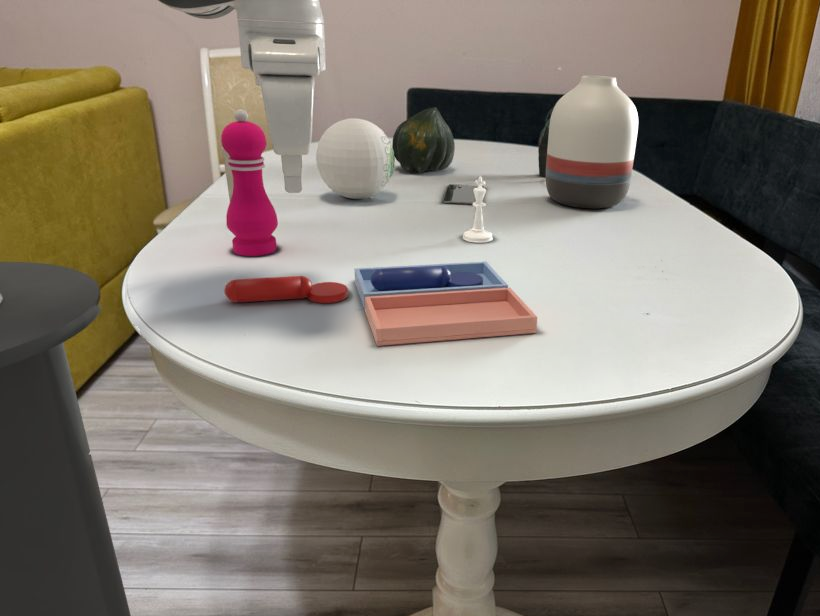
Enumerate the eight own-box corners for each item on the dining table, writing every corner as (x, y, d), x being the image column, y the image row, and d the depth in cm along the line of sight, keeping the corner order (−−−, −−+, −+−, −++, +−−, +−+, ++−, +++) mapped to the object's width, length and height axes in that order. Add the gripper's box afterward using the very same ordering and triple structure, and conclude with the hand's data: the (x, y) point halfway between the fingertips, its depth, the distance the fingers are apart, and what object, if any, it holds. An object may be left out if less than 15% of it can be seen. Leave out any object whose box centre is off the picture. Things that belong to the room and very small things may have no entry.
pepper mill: (269, 240, 106) (256, 105, 97) (287, 252, 100) (276, 111, 92) (223, 247, 102) (205, 107, 93) (239, 260, 96) (222, 113, 88)
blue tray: (364, 309, 81) (363, 294, 80) (354, 282, 90) (354, 268, 89) (507, 299, 86) (508, 285, 85) (485, 275, 94) (486, 261, 93)
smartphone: (442, 201, 132) (449, 182, 146) (442, 203, 132) (449, 185, 146) (481, 202, 131) (484, 184, 146) (481, 205, 132) (484, 187, 146)
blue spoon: (373, 297, 84) (373, 276, 82) (368, 284, 88) (367, 263, 87) (487, 290, 87) (488, 270, 86) (476, 277, 92) (477, 258, 90)
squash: (371, 147, 156) (412, 98, 148) (397, 141, 169) (436, 96, 162) (413, 193, 156) (456, 147, 149) (436, 184, 170) (476, 141, 162)
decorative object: (388, 209, 126) (386, 125, 120) (309, 205, 127) (303, 121, 121) (400, 191, 140) (399, 115, 133) (329, 188, 141) (324, 112, 134)
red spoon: (224, 310, 80) (222, 287, 79) (226, 295, 84) (224, 273, 83) (349, 301, 83) (349, 280, 82) (345, 288, 88) (344, 267, 87)
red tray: (376, 346, 72) (376, 329, 71) (365, 312, 81) (364, 296, 80) (536, 333, 77) (537, 316, 76) (509, 302, 85) (510, 287, 84)
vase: (616, 216, 127) (634, 81, 117) (531, 205, 133) (541, 76, 123) (635, 199, 141) (652, 77, 131) (557, 189, 147) (568, 72, 137)
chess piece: (484, 244, 108) (486, 181, 103) (457, 239, 110) (459, 177, 105) (497, 237, 112) (501, 176, 107) (471, 232, 114) (474, 172, 109)
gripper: (253, 47, 80) (263, 165, 86) (251, 55, 63) (263, 203, 68) (308, 49, 82) (313, 165, 88) (320, 57, 64) (326, 202, 70)
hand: (291, 182), depth 78 cm, fingers open, 8 cm apart
